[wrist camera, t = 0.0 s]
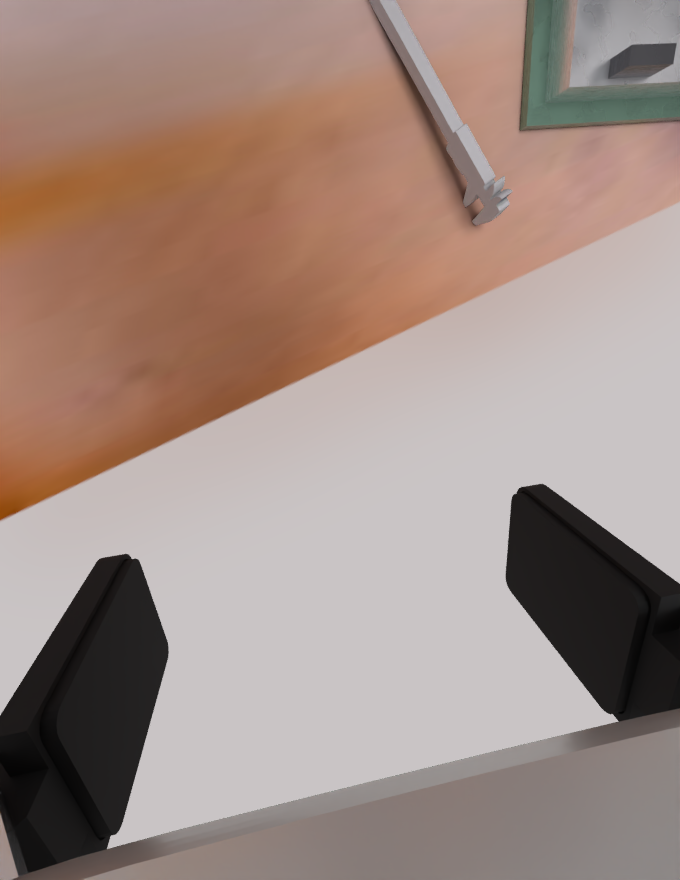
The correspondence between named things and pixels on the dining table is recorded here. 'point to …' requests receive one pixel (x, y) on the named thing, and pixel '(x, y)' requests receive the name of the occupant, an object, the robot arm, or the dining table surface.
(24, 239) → the dining table surface
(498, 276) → the dining table surface
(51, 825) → the robot arm
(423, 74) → the caliper
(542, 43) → the base
